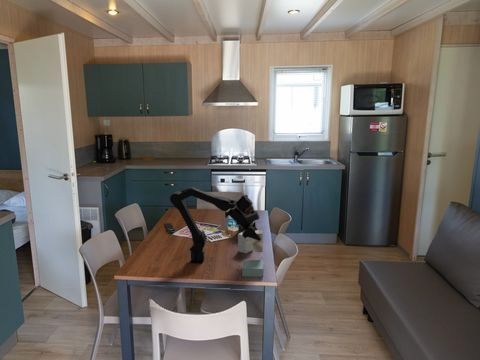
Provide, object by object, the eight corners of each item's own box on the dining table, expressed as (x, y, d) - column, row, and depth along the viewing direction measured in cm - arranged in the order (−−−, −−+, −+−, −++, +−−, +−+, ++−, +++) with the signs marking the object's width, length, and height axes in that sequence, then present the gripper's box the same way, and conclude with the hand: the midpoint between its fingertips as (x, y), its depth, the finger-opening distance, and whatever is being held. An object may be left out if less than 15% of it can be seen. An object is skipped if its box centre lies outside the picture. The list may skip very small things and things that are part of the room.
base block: (242, 276, 163) (242, 268, 162) (243, 267, 173) (243, 259, 172) (263, 276, 162) (263, 268, 161) (263, 267, 172) (263, 260, 171)
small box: (246, 247, 198) (246, 229, 196) (254, 249, 195) (254, 231, 193) (237, 251, 192) (237, 233, 190) (245, 253, 189) (245, 235, 187)
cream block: (252, 252, 175) (252, 233, 173) (253, 248, 180) (253, 230, 178) (262, 252, 175) (262, 233, 173) (262, 248, 179) (262, 230, 178)
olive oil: (244, 236, 216) (244, 198, 211) (234, 232, 224) (233, 195, 219) (257, 232, 222) (257, 195, 218) (246, 228, 231) (246, 192, 226)
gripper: (249, 211, 164) (271, 234, 165) (250, 202, 182) (271, 222, 183) (232, 227, 166) (255, 249, 167) (236, 216, 184) (256, 235, 186)
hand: (260, 238), depth 176 cm, fingers closed on cream block, 5 cm apart
